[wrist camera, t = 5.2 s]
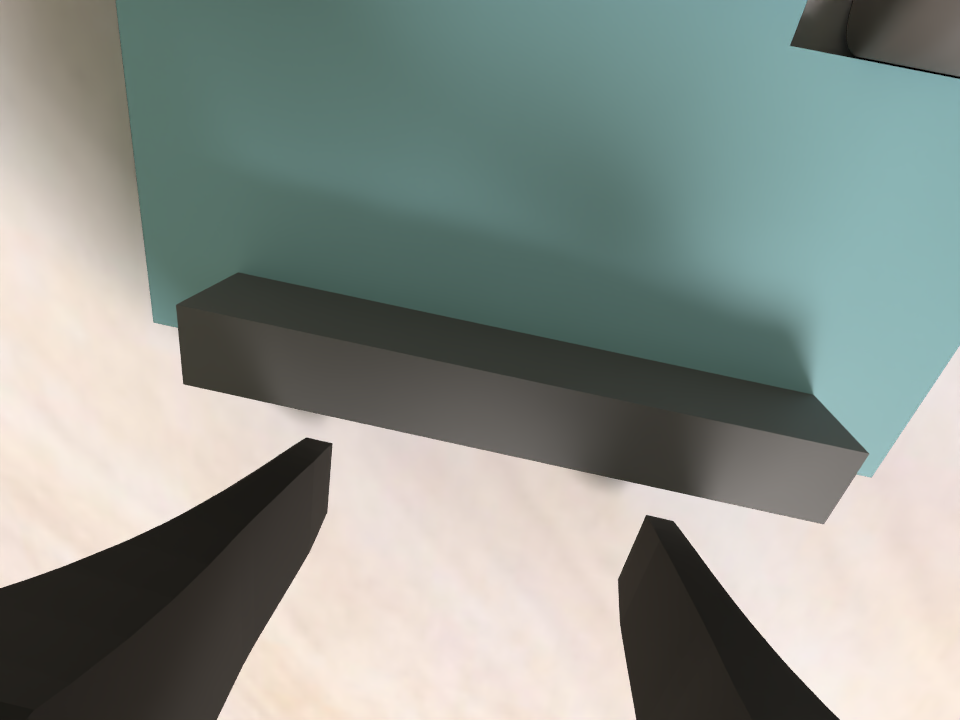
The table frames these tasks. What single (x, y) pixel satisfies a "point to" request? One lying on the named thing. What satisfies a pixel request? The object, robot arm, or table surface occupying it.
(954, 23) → the fixed leaf
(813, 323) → the teal hinge plate
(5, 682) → the robot arm
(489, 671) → the table surface
